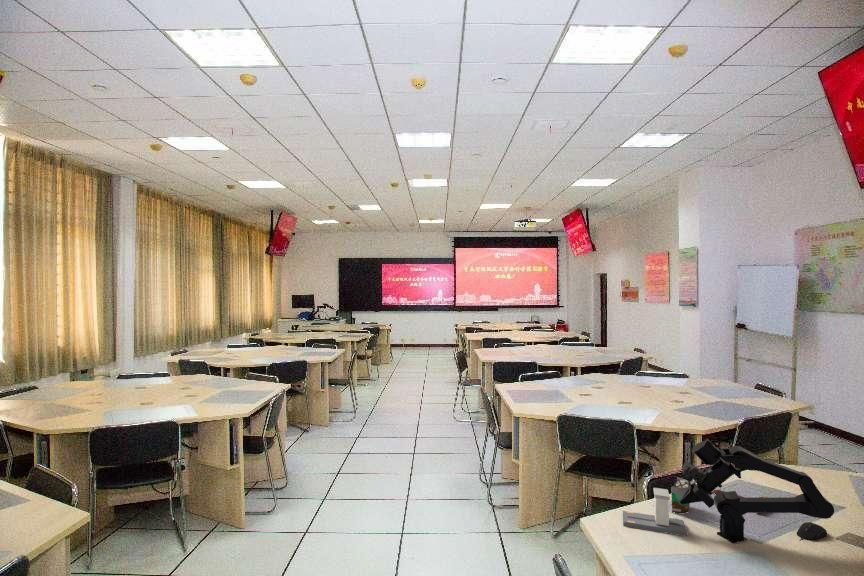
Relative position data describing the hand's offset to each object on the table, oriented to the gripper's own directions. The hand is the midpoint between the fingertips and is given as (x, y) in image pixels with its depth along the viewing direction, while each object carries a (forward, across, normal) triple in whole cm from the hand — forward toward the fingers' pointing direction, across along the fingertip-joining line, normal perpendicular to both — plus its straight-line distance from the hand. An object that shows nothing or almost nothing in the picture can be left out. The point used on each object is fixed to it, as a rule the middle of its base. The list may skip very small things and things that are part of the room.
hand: (680, 503), depth 164 cm
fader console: (+13, 0, 0) cm, 13 cm away
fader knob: (+9, 0, +1) cm, 10 cm away
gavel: (-10, -33, +24) cm, 42 cm away
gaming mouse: (-21, -11, +36) cm, 43 cm away
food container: (+5, -17, +9) cm, 20 cm away
